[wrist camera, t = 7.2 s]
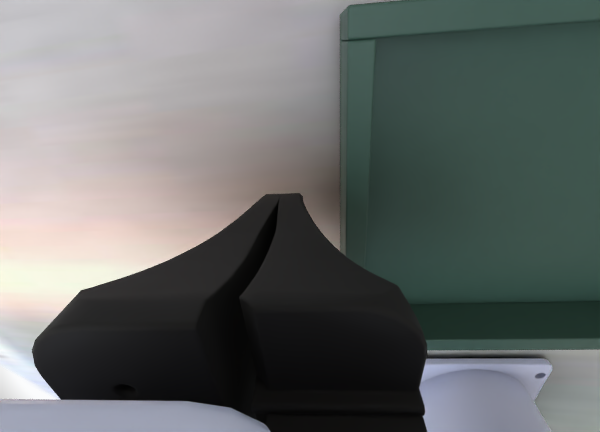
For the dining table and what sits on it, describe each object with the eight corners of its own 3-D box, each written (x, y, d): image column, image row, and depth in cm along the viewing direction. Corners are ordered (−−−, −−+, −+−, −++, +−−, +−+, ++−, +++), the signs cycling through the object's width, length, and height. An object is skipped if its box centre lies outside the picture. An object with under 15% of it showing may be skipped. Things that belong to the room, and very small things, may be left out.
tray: (646, 302, 14) (706, 349, 12) (340, 307, 15) (344, 351, 13) (887, -34, 8) (1103, -62, 6) (339, 13, 9) (348, 4, 7)
